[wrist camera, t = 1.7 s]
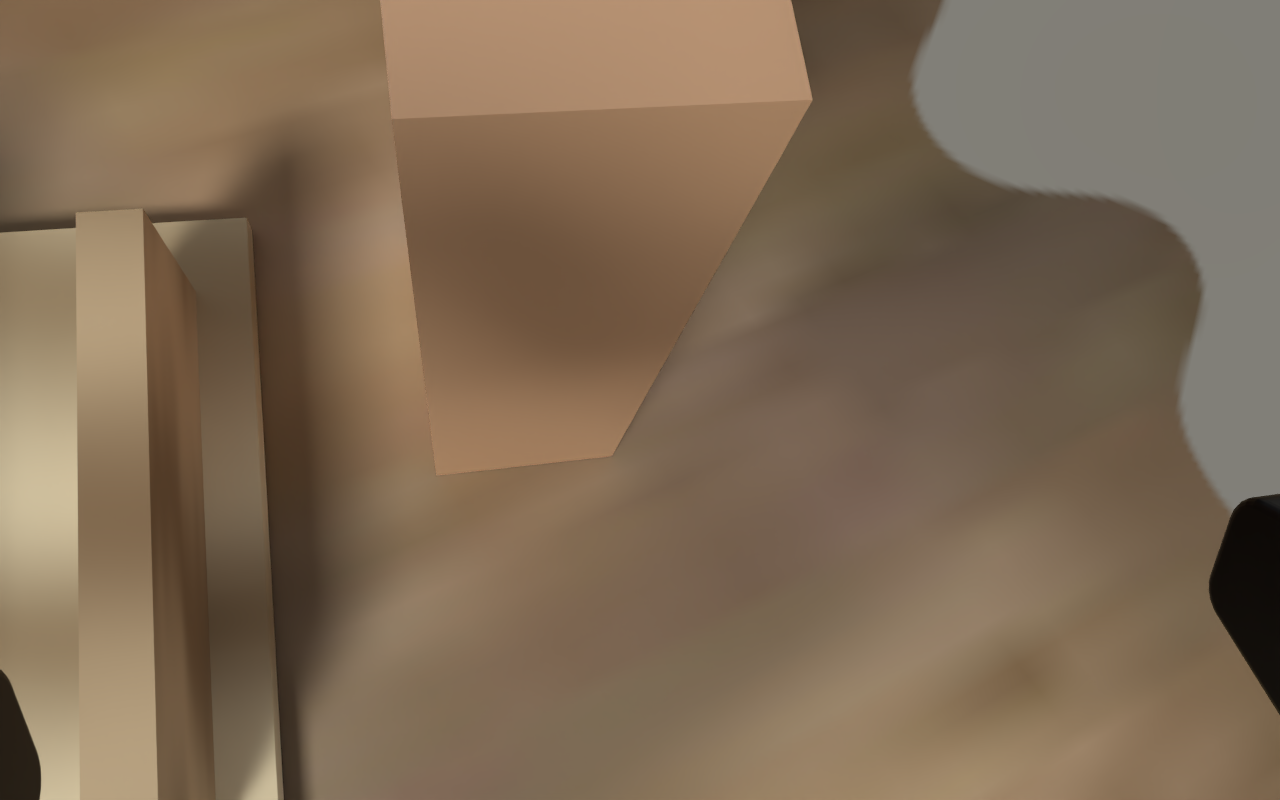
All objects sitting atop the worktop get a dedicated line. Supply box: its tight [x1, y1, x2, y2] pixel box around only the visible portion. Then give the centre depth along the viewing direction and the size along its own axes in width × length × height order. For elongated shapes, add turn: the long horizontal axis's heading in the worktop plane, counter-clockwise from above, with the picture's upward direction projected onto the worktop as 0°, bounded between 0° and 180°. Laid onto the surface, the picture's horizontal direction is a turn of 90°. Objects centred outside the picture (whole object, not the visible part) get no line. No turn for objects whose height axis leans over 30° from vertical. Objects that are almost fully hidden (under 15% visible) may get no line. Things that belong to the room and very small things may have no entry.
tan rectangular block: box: [380, 0, 813, 476], centre depth 15 cm, size 4×5×13 cm
